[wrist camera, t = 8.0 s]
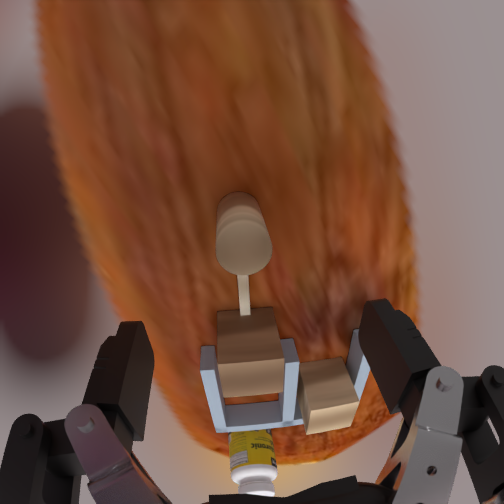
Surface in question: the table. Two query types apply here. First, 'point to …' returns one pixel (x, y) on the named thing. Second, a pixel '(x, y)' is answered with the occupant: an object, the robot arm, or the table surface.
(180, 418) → the table surface
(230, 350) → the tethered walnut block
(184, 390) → the table surface
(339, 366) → the oak block
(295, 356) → the lane shelf
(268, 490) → the supplement bottle
